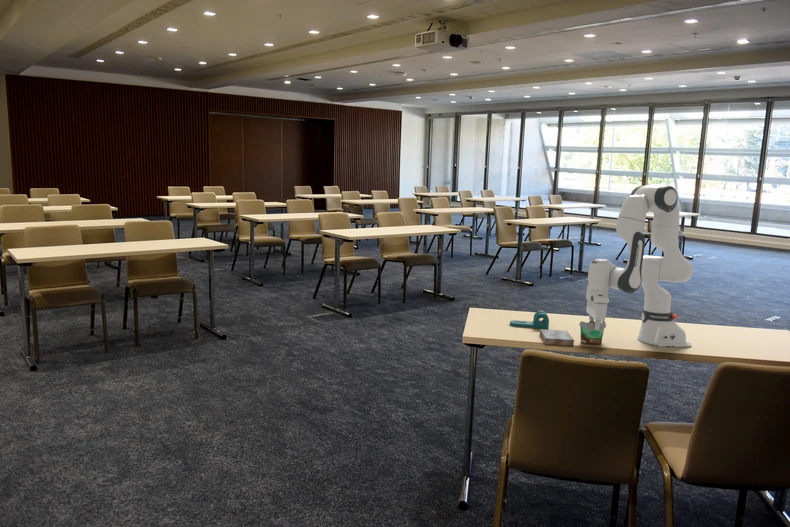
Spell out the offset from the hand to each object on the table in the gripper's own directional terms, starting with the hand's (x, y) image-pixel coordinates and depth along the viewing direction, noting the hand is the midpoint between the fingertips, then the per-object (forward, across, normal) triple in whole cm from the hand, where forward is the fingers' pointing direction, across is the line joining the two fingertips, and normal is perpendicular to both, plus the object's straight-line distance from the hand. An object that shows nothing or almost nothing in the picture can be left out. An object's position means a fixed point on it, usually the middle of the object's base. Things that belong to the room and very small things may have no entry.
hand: (594, 327), depth 266 cm
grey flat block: (+8, -2, -15) cm, 17 cm away
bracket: (+8, -26, -24) cm, 37 cm away
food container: (+8, 0, +1) cm, 8 cm away
